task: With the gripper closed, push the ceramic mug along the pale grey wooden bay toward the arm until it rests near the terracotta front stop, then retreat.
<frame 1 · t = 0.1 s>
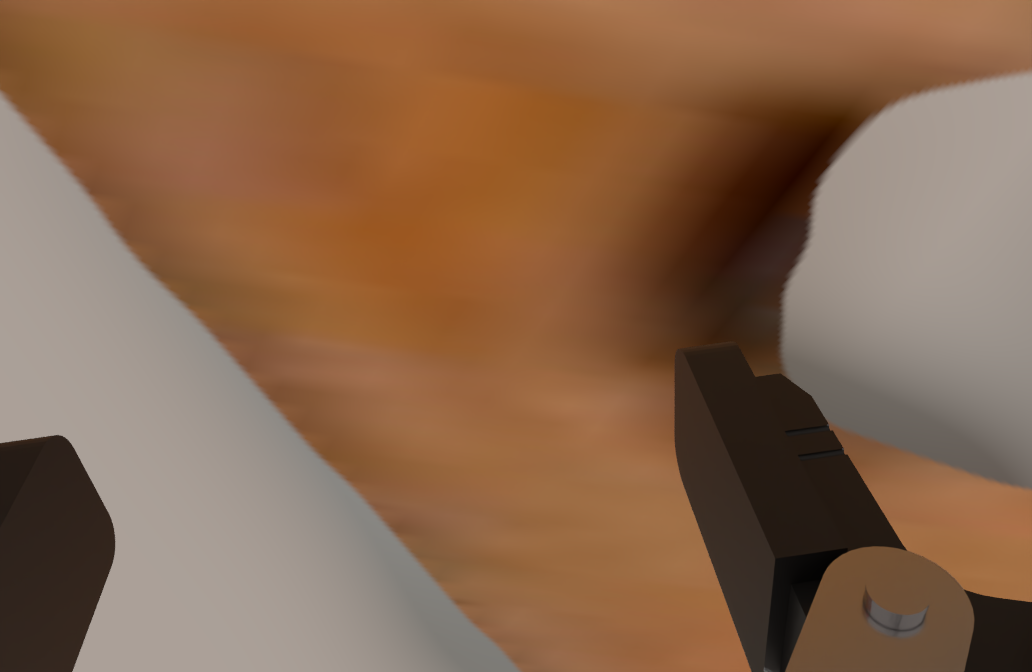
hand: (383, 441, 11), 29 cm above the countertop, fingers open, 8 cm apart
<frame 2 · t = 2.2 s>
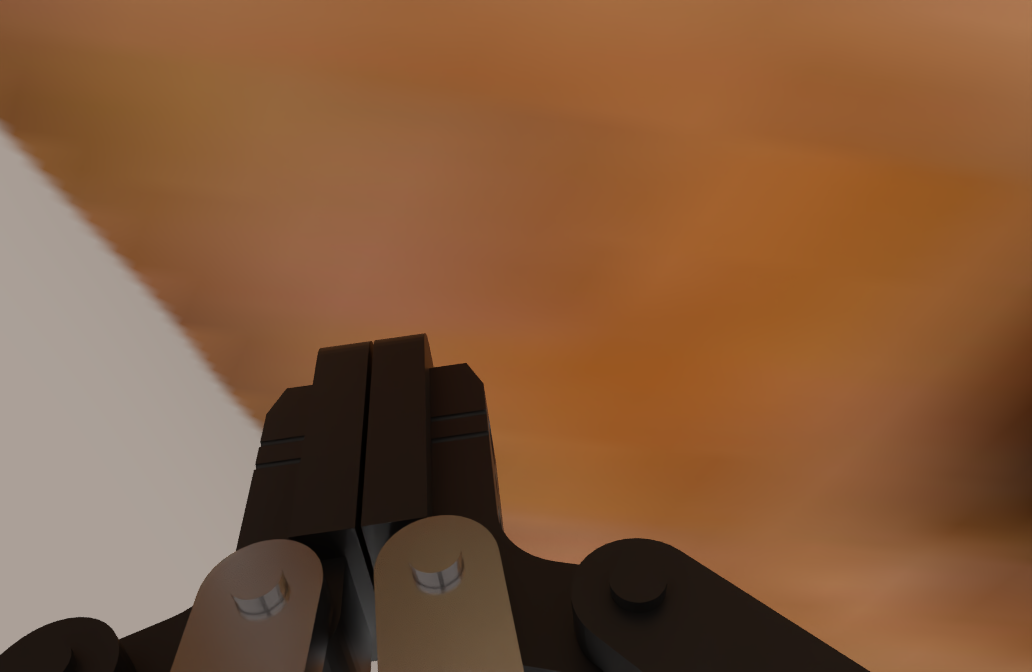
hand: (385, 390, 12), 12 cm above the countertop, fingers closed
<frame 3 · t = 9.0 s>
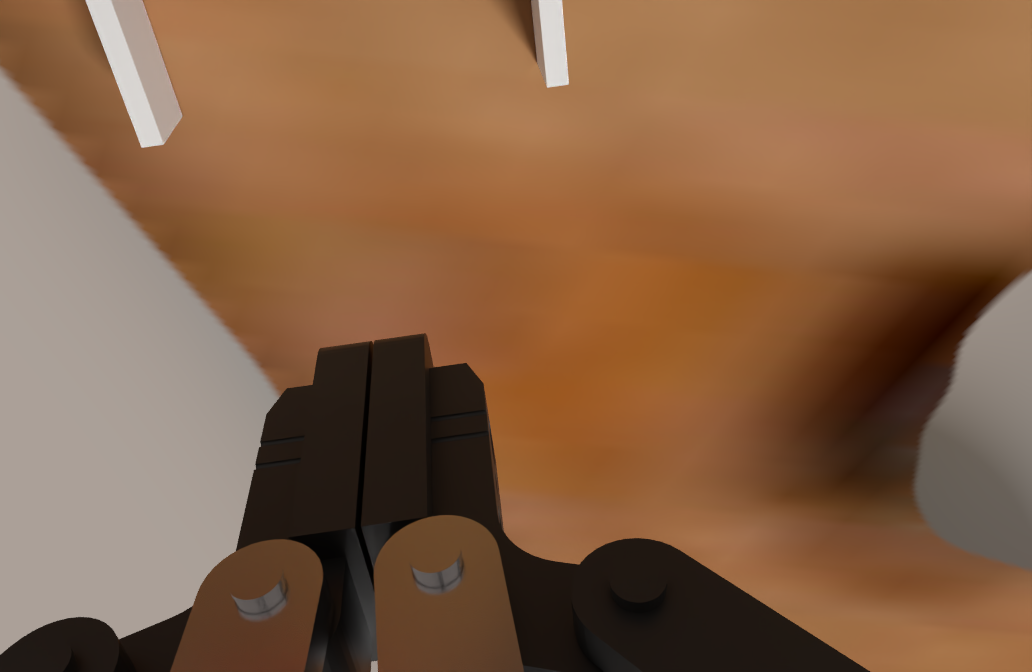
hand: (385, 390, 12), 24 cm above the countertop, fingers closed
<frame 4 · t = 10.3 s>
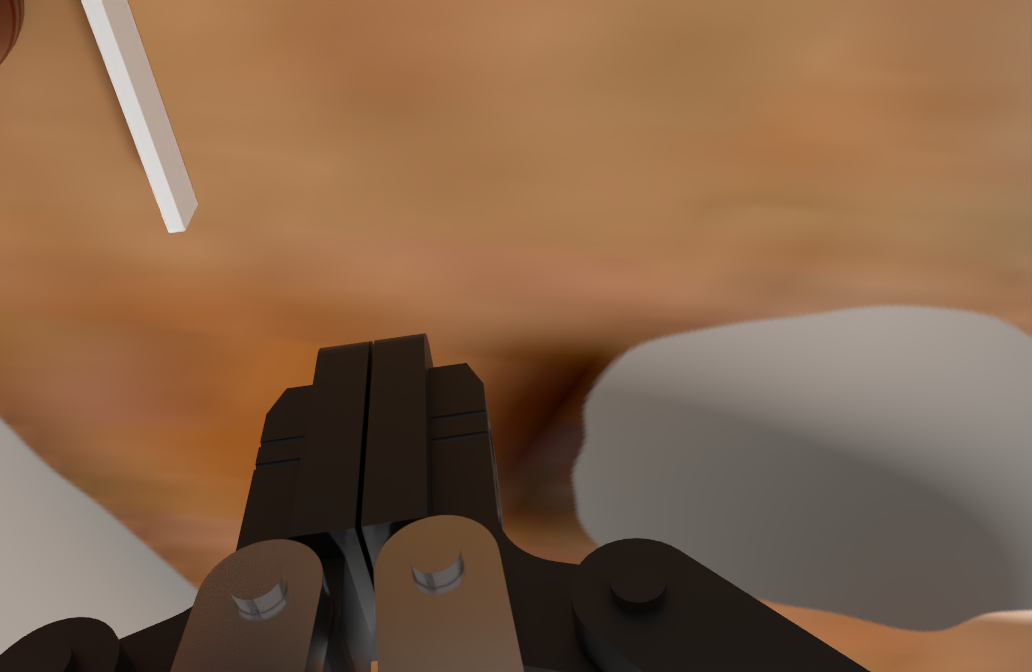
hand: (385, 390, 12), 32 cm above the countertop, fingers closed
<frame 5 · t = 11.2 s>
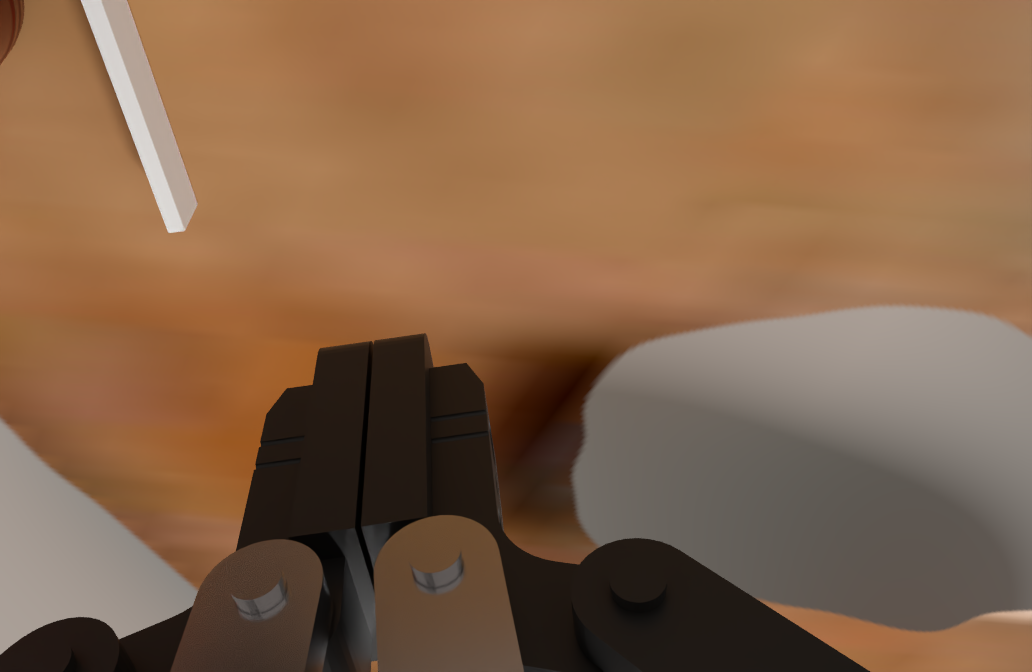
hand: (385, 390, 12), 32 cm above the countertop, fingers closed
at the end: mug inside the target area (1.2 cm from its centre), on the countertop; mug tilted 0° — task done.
